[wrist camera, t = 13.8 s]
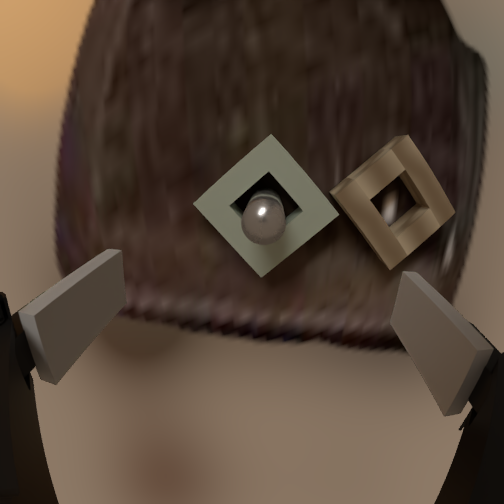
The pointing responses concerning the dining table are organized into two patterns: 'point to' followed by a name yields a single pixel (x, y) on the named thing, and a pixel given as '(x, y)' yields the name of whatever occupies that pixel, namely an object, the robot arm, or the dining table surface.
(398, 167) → the block
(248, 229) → the lock pin
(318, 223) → the socket block
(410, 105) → the dining table surface
